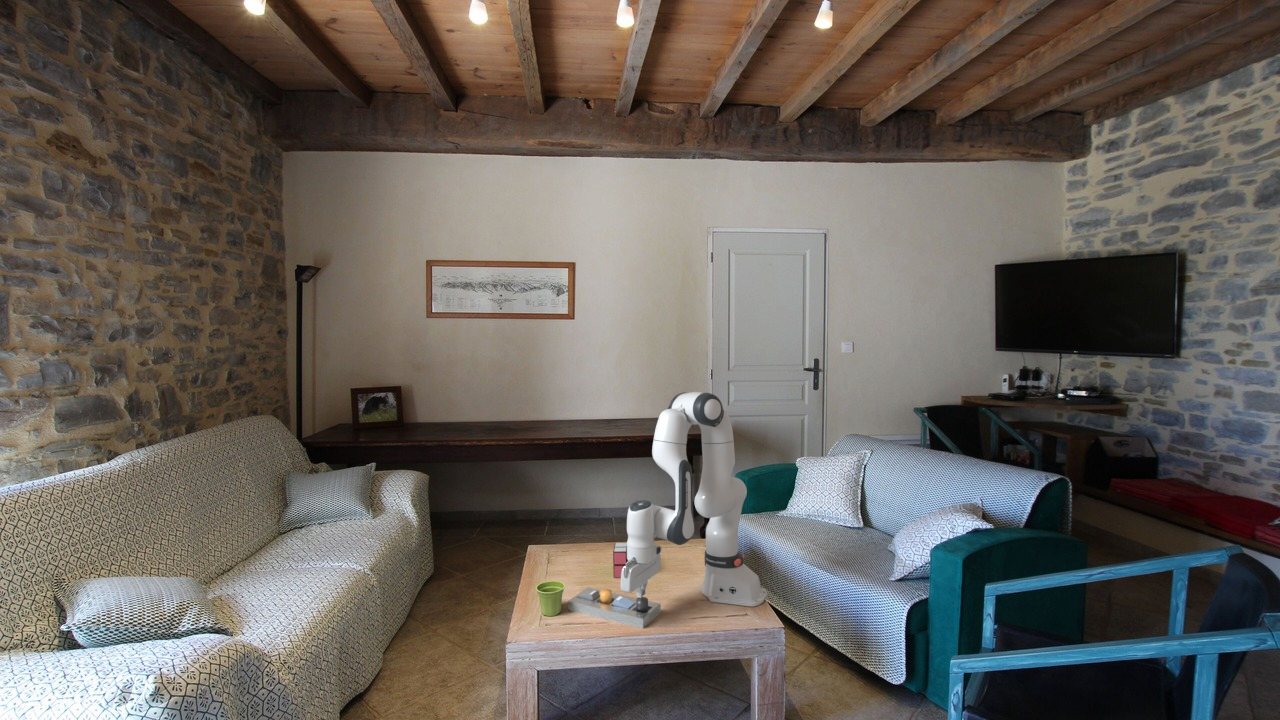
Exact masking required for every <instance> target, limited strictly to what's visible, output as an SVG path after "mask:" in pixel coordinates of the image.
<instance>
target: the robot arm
mask: <svg viewBox="0 0 1280 720" xmlns="http://www.w3.org/2000/svg"><path fill="white" fill-rule="evenodd" d="M693 425H695V426H696V425H698V426H699V429H700V432H701V433H700V434H701V436H700V437H701V452H702V454H701V455H702V469H701V476H700V482H699V487H698V490H697V492H696V495H695V497H694V496H693V493H694V489H693V487H694V486H693V485H694V484H693V481H694V480H693V468H692V465H691V463H690V462H689V460H688V456H687V443H688V433H689V430H690V429H691V427H692V426H693ZM734 440H735V439H734V431H733V426H732V421H731V418H730V415H729V413H728V412H727V411H725V409H724V406H723V403H722V401H721V400H720V398H719V397H718V396H717V395H715V394H713V393H710V392H702V391H692V392H691V391H690V392H685V391H684V392H680V393H678V394H675V396H674V397H673V398H672V399H671V401H670V403H669V405H668V408H666V409H664V410H662V411H661V412H660V414H659V417H658V419H657V422H656V426H655V430H654V435H653V440H652V441H653V442H652V446H651V447H652V449H651V455H652V459H653V461H654V462H655V464H656V465H657V466H658V467H659V468H660V469H662V470H663V471H664V472H666V473H667V474H668V475H669V476H670V478H672V480H673V482H674V486H675V493H674V494H675V506H674V507H675V510H674V509H671V508H667V507H664V506H660V505H656V504H653V503H652V502H651V501H649V500H647V499H646V500H645V499H641V500H636V501H634V502H632V503H631V504H630V505H629V507H628V508H627V515H626V533H627V541H626V543H627V559H628V561H627V562H626V564H625V566H624V567H623V569H622V572H621V578H620V586H619V587H620V590H621V592H624V593H627V594H631V593H633V592H634V591H635V593H636V598H641V597H644V596H645V595H646V589H647V586H648V580H650V579H652V578H653V577H654V576H655V575H657V574H658V573H659V572H660V570H661V563H662V562H661V559H662V558H661V552H662V545H658V544H656V543H655V538H658V539H659V538H660V539H662V540H666V541H669V542H671V543H673V544H675V545H677V546H682V545H684V544H686V543H688V542H689V541H690V540H691V539H692V538H693V536H694V535H695V531H696V524H695V518H694V517H695V516H694V506H695V510H696V512H697V513H698V514H699V515H700V516H702V517H703V518H706V519H709V521H708V523H707V525H706V527H705V550H704V558H703V560H704V561H703V562H704V567H705V569H704V576H703V577H704V579H703V583H702V587H701V594H703V595H704V596H705V597H707V598H708V600H709V602H710V603H711V602H712V603H717V604H718V603H719V604H726V605H727V604H728V605H736V606H744V607H745V606H746V607H757V606H760V605H761V604H763V603H764V602H765V601H764V599H765V600H766V599H767V598H768V591H767V589H766V588H764V587H761V582H760V577H759V575H758V574H756V573H755V572H754V571H753V570H752V569H751V568H749V567H748V566H747V565H746V564H745V563H744V558H745V553H743V554H741V553H740V552H739V541H738V540H739V524H740V521H741V520H740V519H741V516H742V510H743V505H744V502H745V499H746V498H747V495H748V494H747V493H748V489H747V486H746V484H745V483H744V481H743V480H742V479H740V478H738V477H733V476H732V473H733V470H734V467H735V464H736V456H735V455H736V454H735V443H734V442H735V441H734ZM693 497H694V499H693ZM693 500H694V501H693ZM693 502H694V503H693ZM760 594H761V595H760Z"/></svg>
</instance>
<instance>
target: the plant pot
mask: <svg viewBox="0 0 1280 720" xmlns="http://www.w3.org/2000/svg"><path fill="white" fill-rule="evenodd" d="M565 588H566V585H565V583H564V582H562V581H557V580H549V581H542V582H540V583H539V584H537V585H536V586H535V590H536V591H537V595H538V599H539V604H540V610H541V614H542V616H546V617H554V616H557V615H559V614H560V613H561V611H562V610H561V608H562V602H563V601H562V600H563V593H564V590H565Z"/></svg>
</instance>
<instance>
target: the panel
mask: <svg viewBox="0 0 1280 720" xmlns="http://www.w3.org/2000/svg"><path fill="white" fill-rule="evenodd" d="M597 590H598V592H599V596H598V597H597V598H596V599H594V600H592V601H589V600H585V599H581V598H578V596H579V595H581V594H582V593H583V592H586V591H597ZM601 590H602V589H596V588H592V587H587V588H585V589H584V590H582V591H580V592H579V593H577V594H576V595H575V596H573V597H572V598H570V599H569V600H568V601H567V610H568V611H570V612H575V613H578V614H583V615H588V616H590V617H596V618H599V619H604V620H608V621H610V622H611V621H612V622H615V623H619V624H624V625H628V626H630V627H631V626H632V627H635V628H641V629H644V628H645V627H647V626H648V625H649V624H650V623H651V622H652V621H653V620H654V619H655V618H656V617H658V615H660V614H661V612H662V611H661V603H660V602H656V601H651V600H648V612H646V613H641V612H637V611H636V599H637V598H638V597H633V596H629V595H628V596H627V595H623V594H621V593H620V594H618V593H614V592H612V603H611V604H608V605H606V604H602V603H600V591H601ZM620 595H621V596H623V597H624V598H626V599H628V600H630V601H632V602H634V603H635V604H634V606H633V607H631V608H630V609H629V610H628V609H624V608H619V607H616V606H614V605H613V602H614V600H615V599H616V598H617V597H619V596H620Z"/></svg>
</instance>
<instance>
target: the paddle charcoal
mask: <svg viewBox="0 0 1280 720" xmlns="http://www.w3.org/2000/svg"><path fill="white" fill-rule="evenodd" d="M598 590H599V589H597V591H586V592H583V593H582V594H581V595H579V596H578V598H581V599H585V600H589V601H592V600H594V599H596V598H597V597H598V596H599V592H598Z"/></svg>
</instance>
